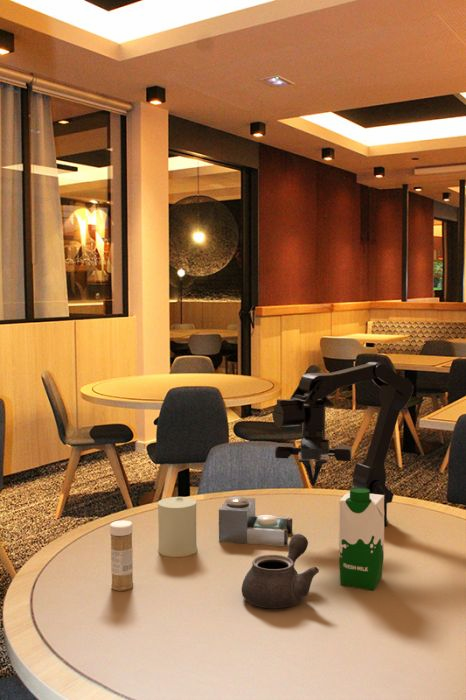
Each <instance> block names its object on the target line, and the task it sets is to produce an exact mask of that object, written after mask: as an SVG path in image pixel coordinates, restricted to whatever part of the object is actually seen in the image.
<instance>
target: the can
mask: <svg viewBox="0 0 466 700" xmlns="http://www.w3.org/2000/svg"><path fill="white" fill-rule="evenodd" d="M197 504H198V503H197V500H196V499H195V498H191V497H186V496H170V497H166V498H162V499H160V500H158V502H157V512H158V514H157V515H158V519H157V520H158V547H157V551H158V553H159V554H161V555H162V556H165V557H171V558H183V557H188V556H191V555H194V554H195V553H196V552H197V551H198V546H197V541H198V540H197Z"/></svg>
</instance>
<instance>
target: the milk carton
mask: <svg viewBox="0 0 466 700" xmlns="http://www.w3.org/2000/svg"><path fill="white" fill-rule="evenodd" d="M384 515H385V514H384V495H378V494H370V490H369V489H366V488H354V487H351V488H350V489H349V491H348V492H347V493H345V494H344V496H342V497H341V498H340V499H339V518H338V519H339V521H338V522H339V526H338V528H339V531H338V534H339V537H338V539H339V540H338V544H339V545H338V546H339V549H338V550H339V551H338V560H339V561H338V564H339V578H340V579H339V581H340V586H341V585H342V586H345V587H351V588H358V589H363V590H369V591H374V590H375V589H376V587H378V586H377V585H378V584H379V583H380V581H381V579H382V578H383V577H382V576H383V570H384V569H383V567H384V559H385V558H384V557H385V555H384V554H385V526H384Z"/></svg>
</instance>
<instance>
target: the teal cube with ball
mask: <svg viewBox="0 0 466 700" xmlns="http://www.w3.org/2000/svg"><path fill="white" fill-rule="evenodd" d="M277 517H278V516H275V515H271V514H262V515H258V517H257V519H256V521H255V523H254V525H253V528H265V529H280V530H281V519H277Z"/></svg>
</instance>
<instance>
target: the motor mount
mask: <svg viewBox="0 0 466 700" xmlns="http://www.w3.org/2000/svg"><path fill="white" fill-rule="evenodd" d="M258 516H259V515H256V498H253V497H244V496H228V497H227V498H226V499H225V501H224V502H223V503H222V504H221V506H220V507H219V509H218V542H220V543H231V544H233V543H234V544H247V545H248V544H249V545H264V546H274V547H275V546H276V547H277V546H278V547H279V546H280V547H285V546H289V536H288V535H291V534H293V518H291V517H290V516H289V517H286V516H285V517H284V516H276V517H277V519H281V530H280V529H265V528H253V525H254V523H255V521H256V519H257V517H258Z"/></svg>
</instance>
